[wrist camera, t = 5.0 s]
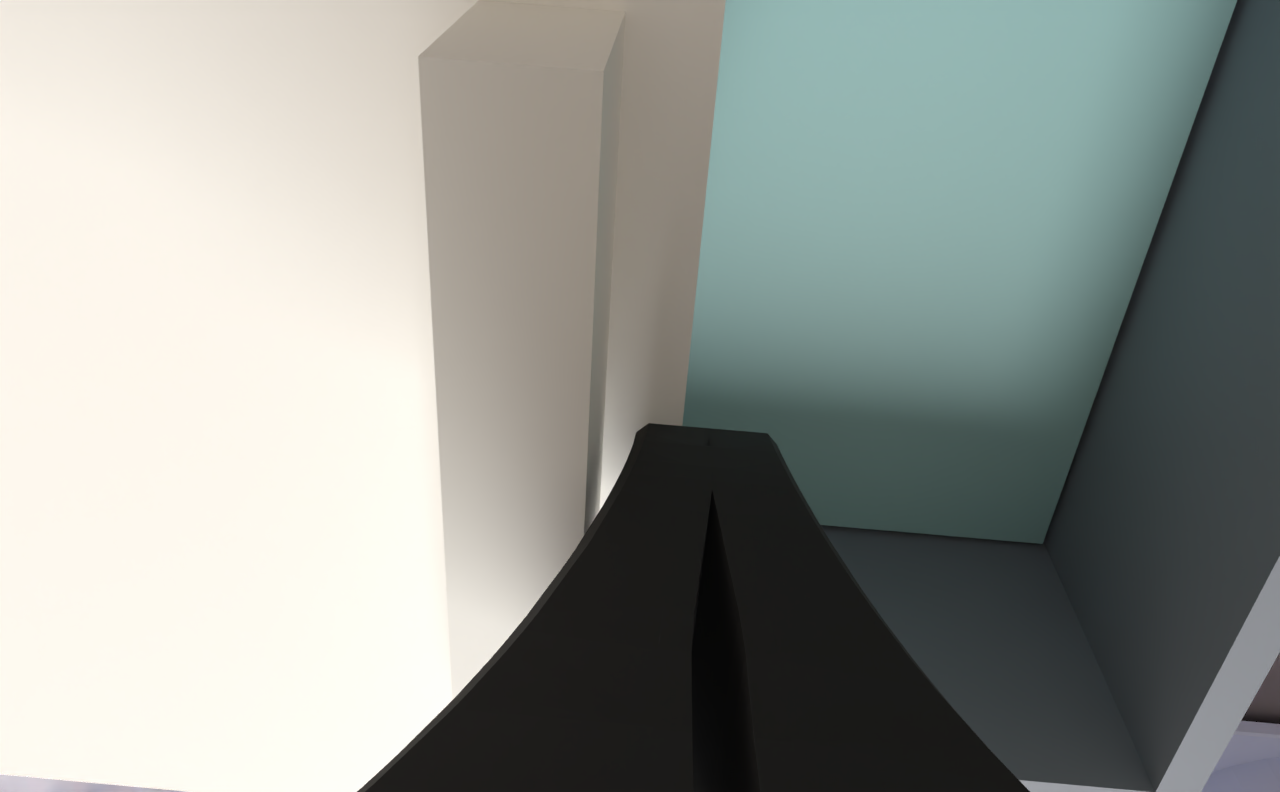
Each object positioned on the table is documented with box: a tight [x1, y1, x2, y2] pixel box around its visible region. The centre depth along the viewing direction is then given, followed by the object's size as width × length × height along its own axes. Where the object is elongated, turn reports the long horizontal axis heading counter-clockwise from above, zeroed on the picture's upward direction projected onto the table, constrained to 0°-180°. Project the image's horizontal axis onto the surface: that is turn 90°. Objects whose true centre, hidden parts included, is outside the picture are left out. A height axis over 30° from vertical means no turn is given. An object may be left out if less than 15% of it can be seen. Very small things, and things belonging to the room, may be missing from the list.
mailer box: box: [682, 0, 1280, 792], centre depth 14 cm, size 16×12×6 cm
